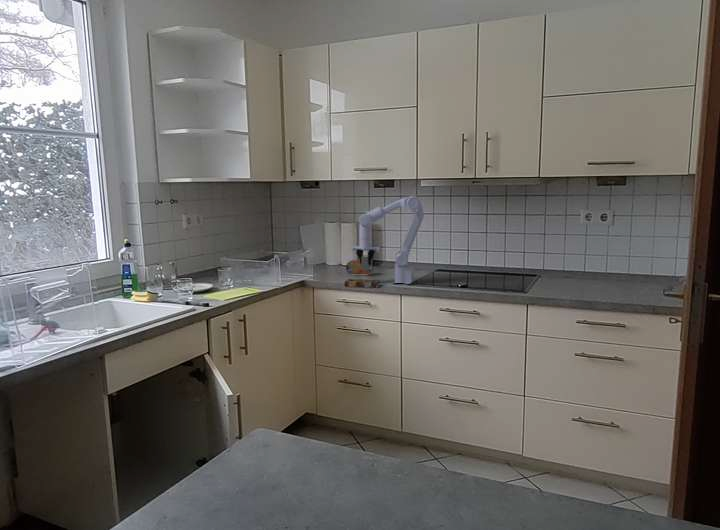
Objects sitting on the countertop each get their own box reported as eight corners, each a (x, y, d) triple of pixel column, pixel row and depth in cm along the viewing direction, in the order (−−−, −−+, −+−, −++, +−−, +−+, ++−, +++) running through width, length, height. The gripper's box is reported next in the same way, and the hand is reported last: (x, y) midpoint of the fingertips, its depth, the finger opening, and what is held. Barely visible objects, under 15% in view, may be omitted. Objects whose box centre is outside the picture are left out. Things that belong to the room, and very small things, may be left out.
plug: (370, 269, 263) (370, 254, 262) (368, 270, 260) (368, 256, 258) (363, 269, 264) (363, 254, 263) (361, 270, 261) (361, 255, 260)
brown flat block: (379, 284, 259) (379, 279, 258) (375, 288, 252) (375, 282, 251) (349, 283, 263) (348, 278, 263) (344, 286, 256) (344, 281, 256)
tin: (346, 275, 285) (345, 260, 283) (347, 274, 288) (347, 259, 286) (372, 276, 281) (372, 260, 280) (374, 274, 284) (373, 259, 283)
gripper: (349, 238, 258) (349, 265, 260) (377, 239, 253) (377, 266, 256) (353, 237, 264) (354, 263, 267) (380, 237, 260) (381, 264, 262)
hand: (365, 264), depth 262 cm, fingers closed on plug, 4 cm apart
